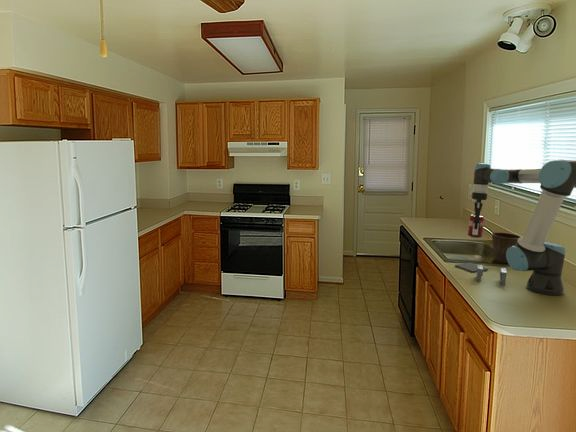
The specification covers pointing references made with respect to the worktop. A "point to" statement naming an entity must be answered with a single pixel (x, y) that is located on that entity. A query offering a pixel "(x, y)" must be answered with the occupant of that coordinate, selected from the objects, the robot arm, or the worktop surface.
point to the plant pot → (503, 245)
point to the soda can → (480, 229)
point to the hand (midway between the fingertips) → (475, 233)
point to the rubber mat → (470, 267)
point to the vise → (502, 274)
